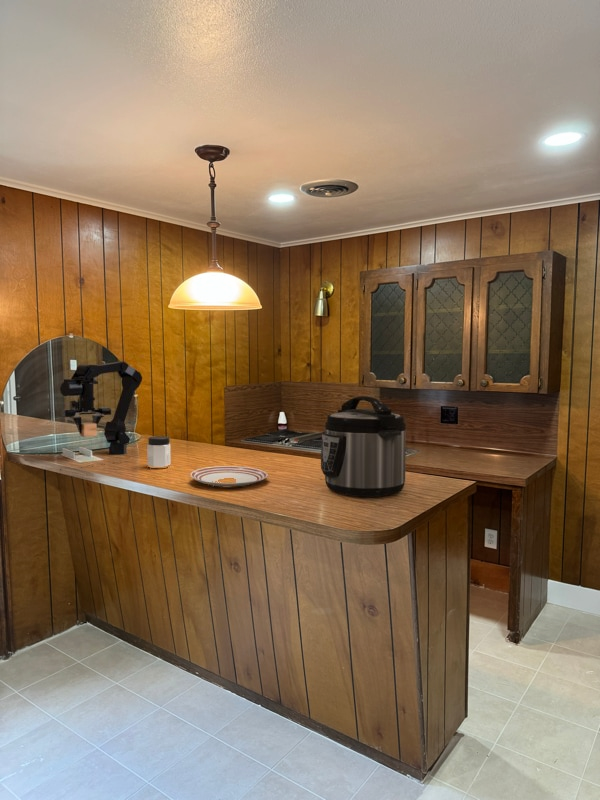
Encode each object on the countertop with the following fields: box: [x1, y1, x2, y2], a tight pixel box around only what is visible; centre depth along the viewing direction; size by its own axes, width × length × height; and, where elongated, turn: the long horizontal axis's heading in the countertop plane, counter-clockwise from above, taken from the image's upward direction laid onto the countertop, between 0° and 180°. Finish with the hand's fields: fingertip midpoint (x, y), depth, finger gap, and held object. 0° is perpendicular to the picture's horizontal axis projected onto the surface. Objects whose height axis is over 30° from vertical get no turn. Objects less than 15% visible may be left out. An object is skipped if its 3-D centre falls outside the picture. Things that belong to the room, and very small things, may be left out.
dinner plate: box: [189, 465, 269, 487], centre depth 198 cm, size 27×27×3 cm
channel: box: [59, 446, 104, 463], centre depth 235 cm, size 24×10×4 cm, turn 41°
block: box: [79, 422, 98, 438], centre depth 227 cm, size 5×5×5 cm
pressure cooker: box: [320, 395, 407, 498], centre depth 187 cm, size 30×28×32 cm
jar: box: [146, 435, 171, 467], centre depth 222 cm, size 9×8×12 cm
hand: (86, 432), depth 228 cm, fingers closed on block, 5 cm apart
